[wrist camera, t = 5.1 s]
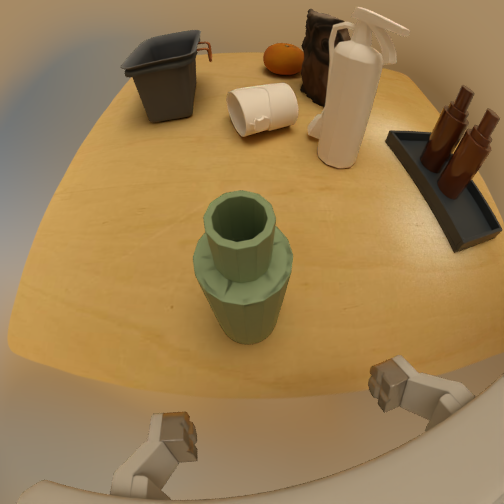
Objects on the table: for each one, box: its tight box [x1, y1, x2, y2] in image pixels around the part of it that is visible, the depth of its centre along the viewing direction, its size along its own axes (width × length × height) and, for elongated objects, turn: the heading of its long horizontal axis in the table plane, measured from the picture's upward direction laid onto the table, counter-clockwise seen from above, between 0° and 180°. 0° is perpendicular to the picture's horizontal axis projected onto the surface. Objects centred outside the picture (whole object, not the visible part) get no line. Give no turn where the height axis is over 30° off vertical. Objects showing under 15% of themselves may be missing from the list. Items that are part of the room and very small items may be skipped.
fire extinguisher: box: [307, 7, 410, 168], centre depth 30 cm, size 7×12×25 cm, turn 33°
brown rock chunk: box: [300, 9, 351, 107], centre depth 42 cm, size 13×13×20 cm
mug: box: [227, 83, 298, 137], centre depth 42 cm, size 12×9×8 cm
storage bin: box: [121, 30, 212, 122], centre depth 44 cm, size 21×16×14 cm
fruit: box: [263, 43, 304, 75], centre depth 54 cm, size 10×10×8 cm
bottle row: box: [420, 85, 500, 200], centre depth 31 cm, size 11×5×18 cm, turn 12°
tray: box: [385, 131, 502, 253], centre depth 37 cm, size 24×13×3 cm, turn 12°
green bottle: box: [193, 190, 293, 344], centre depth 21 cm, size 6×6×18 cm
